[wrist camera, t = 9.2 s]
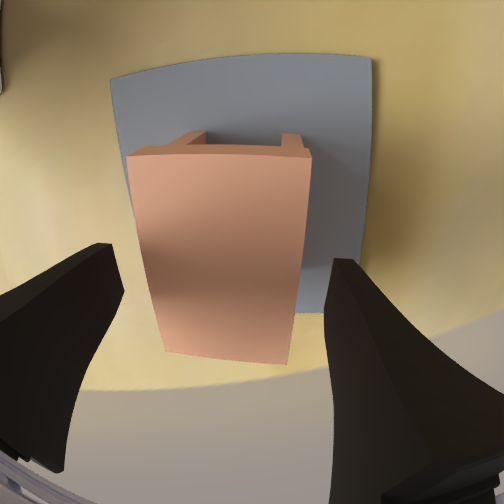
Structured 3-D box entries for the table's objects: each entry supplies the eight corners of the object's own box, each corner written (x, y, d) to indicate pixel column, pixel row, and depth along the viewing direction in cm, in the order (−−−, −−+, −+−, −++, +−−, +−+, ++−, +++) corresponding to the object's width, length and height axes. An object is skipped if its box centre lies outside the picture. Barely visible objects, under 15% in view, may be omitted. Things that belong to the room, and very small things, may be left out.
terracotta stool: (199, 269, 17) (165, 351, 12) (188, 123, 13) (126, 156, 8) (289, 276, 17) (286, 364, 11) (300, 125, 12) (312, 158, 7)
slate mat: (114, 79, 12) (109, 79, 12) (368, 58, 11) (371, 57, 10) (162, 303, 19) (160, 308, 19) (350, 306, 18) (351, 312, 17)
